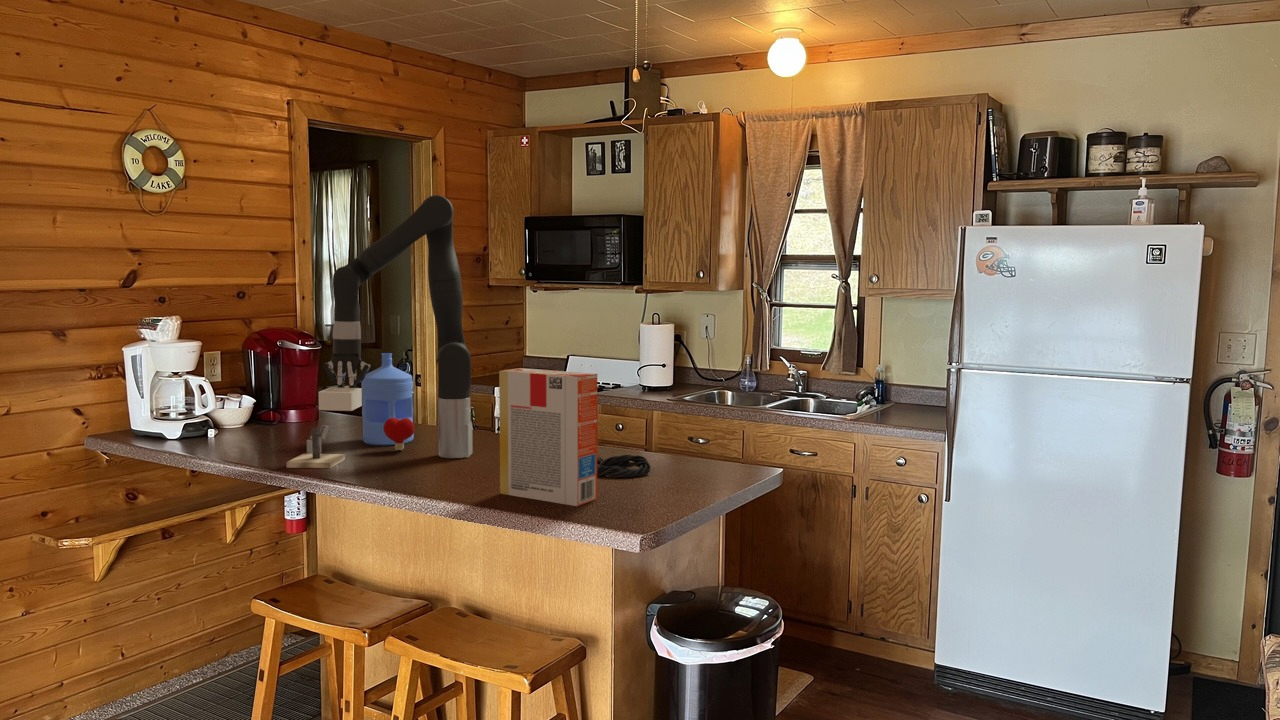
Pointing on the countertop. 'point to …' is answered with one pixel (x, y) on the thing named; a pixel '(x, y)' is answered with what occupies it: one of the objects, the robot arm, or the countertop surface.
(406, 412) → the water jug
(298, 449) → the countertop surface
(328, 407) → the white square frame
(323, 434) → the lighter
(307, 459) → the beige peg base
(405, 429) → the red heart
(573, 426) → the pasta box
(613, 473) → the cable
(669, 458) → the countertop surface
